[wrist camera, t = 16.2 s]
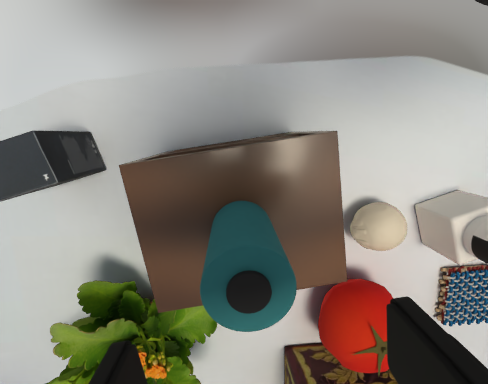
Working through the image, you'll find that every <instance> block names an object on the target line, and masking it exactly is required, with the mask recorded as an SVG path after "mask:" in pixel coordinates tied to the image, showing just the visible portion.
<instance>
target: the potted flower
mask: <svg viewBox="0 0 488 384" xmlns="http://www.w3.org/2000/svg"><path fill="white" fill-rule="evenodd" d="M78 291H80V292H79V293H78V294H77V297H78V299H80V300H79V302H78V303H79V304H80V305H81V306H83V308H82V310H83V311H84V312H86V314H89V313H91V314H90V317H87V318H83V319H79V320H77V321H75V322H74V323H73V324H72V325H69V324H62V323H56V324H53V325H52V326H51V328H50V334H51V335H52V336H53V338H52V339H51V342H53V343H57V342H60V343H59V344H57V345H56V346H55V347H54V349H53V353H54V354H55V355H57V356H58V357H59V358H60V357H62V356H63V357H62V360H65V359H67V358H69V357H70V356H71V355H72V357H71V358H70V360H69V363H68V365H67V366H66V369H64V370H63V371H62V372H61V373H60V376H59V377H57V378H55V379H53V380H52V381H50V382H49V383H46V384H89V382H90V380H91V378H92V377H93V375H94V373H95V371H96V370H97V368H98V366H99V364H100V363H101V361H102V359H103V357H104V356H105V354H106V352H107V350H108V349H109V347H110V346H111V344H112V343H116V342H122V341H130V342H131V343H132V344H135V345H136V347H137V351H138V354H139V357H140V360H141V364H142V367H143V370H144V373H145V377H146V380H147V383H148V384H201V383H200V381H199V380H198V379H196V376H195V375H190V374H193V366H192V363H191V362H190V361H189V359H188V357H187V356H189V355H191V352H190V350H189V349H190V348H192V347H193V343H195V339H196V341H198V342H199V343H200V342H201V343H202V344H204V343H205V338H206V337H205V335H204V333H205V334H206V335H207V336H208V337H210V336H211V334H213V333H214V332H215V330H216V328H217V322H216V321H215V320H213V319H212V318H211V317H210V315H209V314H208V313H207V311H206V310H205V308H204V306H197V307H191V308H185V309H179V310H173V311H167V312H161V313H158V310H157V307H156V303H155V299H153V302H151V301H150V299H147V298H144V299H143V298H141V297H140V296H141V295H140V293H136V291H137V287H136V284H135V281H130V282H124V283H122V284H121V283H111V282H107V281H93V282H87V283H84V284H82V285H81V286H80V287H79V288H78Z"/></svg>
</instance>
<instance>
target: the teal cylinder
mask: <svg viewBox="0 0 488 384" xmlns="http://www.w3.org/2000/svg"><path fill="white" fill-rule="evenodd" d="M296 290H297V283H296V277H295V274H294V271H293V269H292V267H291V265H290V262H289V260H288V258H287V256H286V254H285V252H284V249H283V247H282V245H281V243H280V241H279V238H278V236H277V234H276V232H275V230H274V227H273V225H272V223H271V221H270V219H269V217H268V215H267V213H266V212H265V211H264V210H263V208H261V207H260V206H259V205H257V204H255V203H252V202H249V201H235V202H232V203H229V204H227V205H225V206H224V207H223V208H221V209H220V210H219V212H218V213H217V214H216V216H215V218H214V220H213V223H212V228H211V233H210V238H209V243H208V248H207V253H206V258H205V263H204V268H203V273H202V278H201V283H200V296H201V301H202V304H203V306H204V308H205V310H206V311H207V313H208V314H209V315H210V317H211V318H212V319H213V320H215V321H216V322H217V323H219V324H220V325H222V326H224V327H226V328H229V329H231V330H235V331H242V332H251V331H258V330H262V329H265V328H268V327H270V326H272V325H273V324H275V323H277V322H278V321H279V320H281V319H282V318H283V317H284V316H285V315H286V314H287V312H288V311H289V310H290V308H291V306H292V305H293V302H294V300H295V296H296Z"/></svg>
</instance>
